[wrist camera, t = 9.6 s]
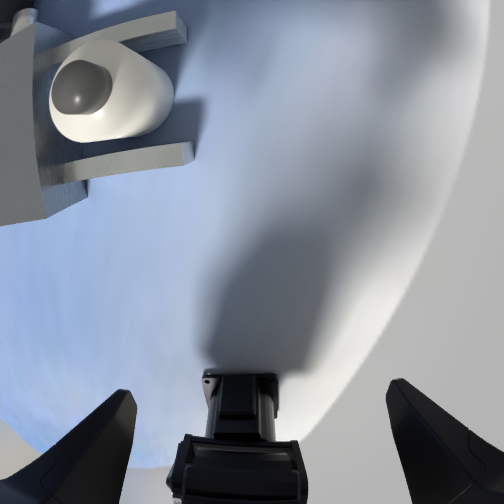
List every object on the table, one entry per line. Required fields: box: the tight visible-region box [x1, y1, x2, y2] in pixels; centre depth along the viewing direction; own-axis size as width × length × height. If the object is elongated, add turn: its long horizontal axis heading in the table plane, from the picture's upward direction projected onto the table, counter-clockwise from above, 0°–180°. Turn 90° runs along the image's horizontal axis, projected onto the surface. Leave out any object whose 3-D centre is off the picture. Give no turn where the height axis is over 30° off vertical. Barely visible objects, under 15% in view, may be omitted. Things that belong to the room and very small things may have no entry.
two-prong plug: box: [0, 8, 194, 226], centre depth 13 cm, size 15×15×5 cm
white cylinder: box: [49, 40, 174, 142], centre depth 12 cm, size 5×5×8 cm
